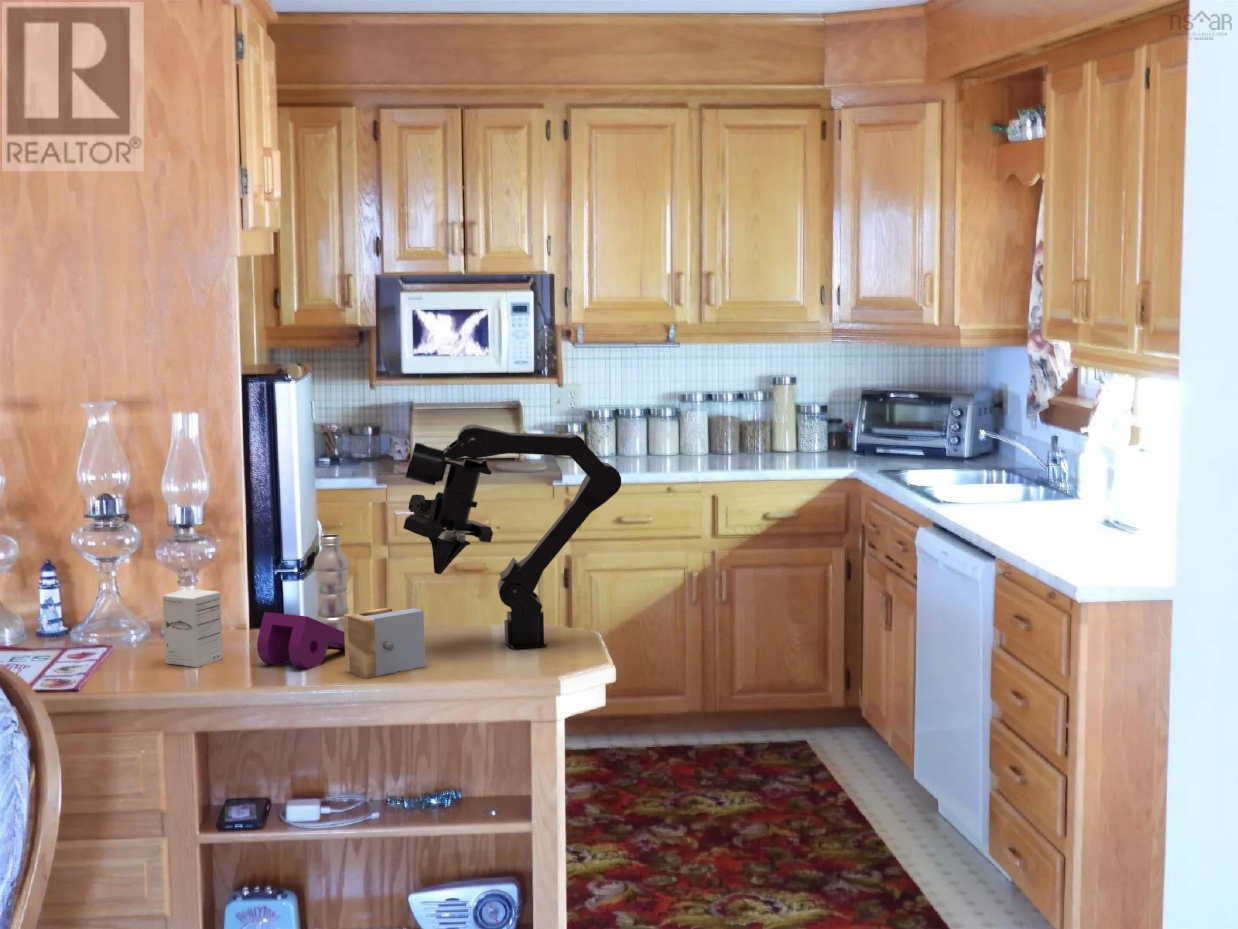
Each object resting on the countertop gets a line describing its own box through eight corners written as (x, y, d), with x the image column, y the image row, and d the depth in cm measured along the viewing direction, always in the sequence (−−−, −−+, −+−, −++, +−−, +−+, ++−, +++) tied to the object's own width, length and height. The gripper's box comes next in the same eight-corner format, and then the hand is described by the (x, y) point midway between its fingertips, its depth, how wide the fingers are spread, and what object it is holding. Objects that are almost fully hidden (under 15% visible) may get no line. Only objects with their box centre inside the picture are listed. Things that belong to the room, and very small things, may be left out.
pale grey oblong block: (414, 663, 263) (413, 607, 262) (428, 668, 259) (427, 611, 258) (364, 672, 257) (362, 615, 256) (378, 677, 253) (376, 620, 252)
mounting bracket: (312, 680, 276) (252, 658, 261) (322, 636, 278) (264, 612, 263) (353, 685, 272) (295, 663, 256) (363, 640, 274) (306, 616, 259)
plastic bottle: (309, 639, 282) (305, 536, 280) (340, 634, 287) (336, 532, 284) (327, 645, 277) (323, 539, 275) (358, 639, 282) (354, 535, 280)
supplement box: (163, 664, 265) (160, 595, 263) (192, 655, 271) (189, 587, 270) (196, 668, 261) (192, 598, 260) (224, 659, 268) (221, 590, 267)
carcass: (389, 662, 263) (387, 607, 262) (410, 670, 258) (408, 613, 257) (345, 670, 258) (343, 614, 257) (365, 678, 252) (364, 621, 251)
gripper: (460, 484, 283) (439, 562, 284) (393, 475, 268) (371, 558, 269) (503, 500, 277) (482, 580, 278) (437, 492, 261) (414, 577, 263)
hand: (437, 573), depth 272 cm, fingers closed
